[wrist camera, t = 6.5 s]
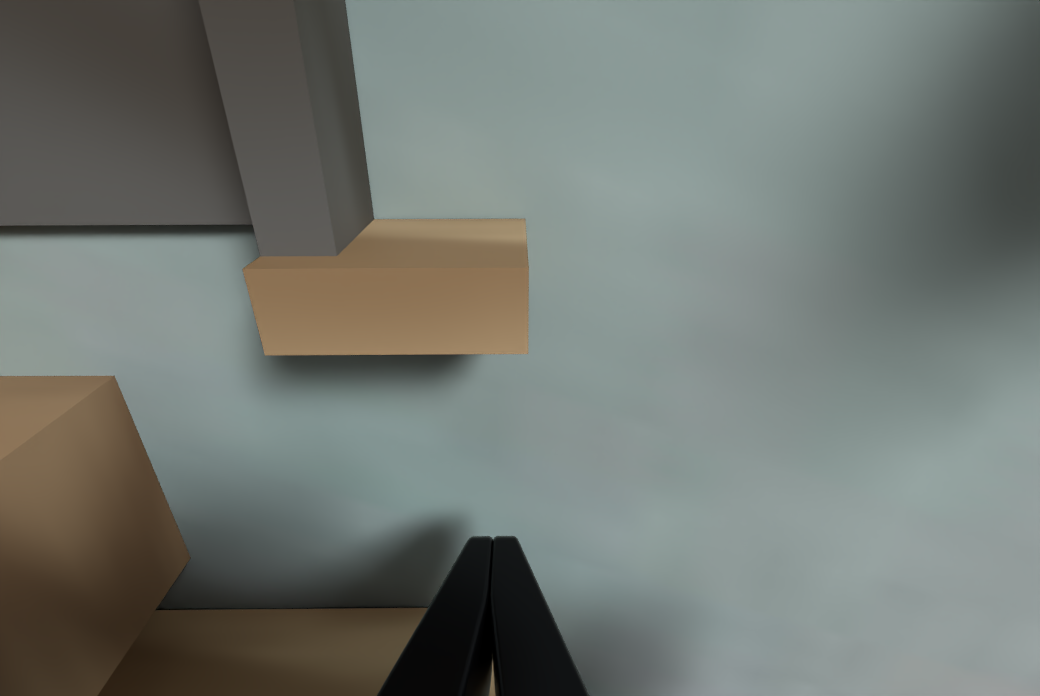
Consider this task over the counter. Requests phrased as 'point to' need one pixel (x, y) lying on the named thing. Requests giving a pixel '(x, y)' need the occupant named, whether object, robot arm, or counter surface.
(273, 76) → the channel
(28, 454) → the walnut block
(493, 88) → the counter surface
